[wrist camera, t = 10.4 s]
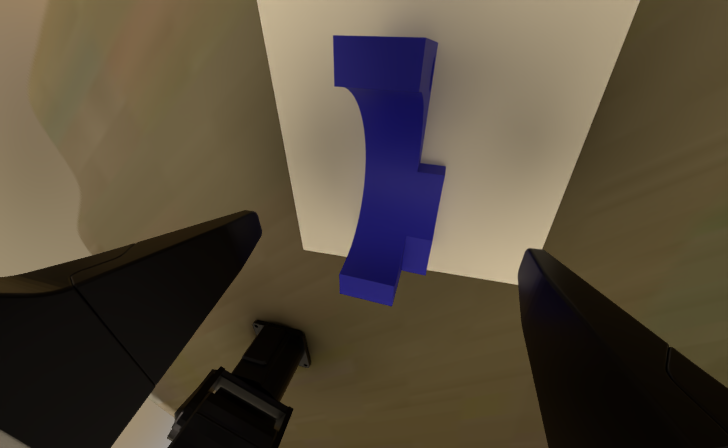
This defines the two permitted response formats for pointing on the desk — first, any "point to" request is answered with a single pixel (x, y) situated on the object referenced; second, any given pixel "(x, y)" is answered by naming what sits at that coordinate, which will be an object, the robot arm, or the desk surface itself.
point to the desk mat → (449, 115)
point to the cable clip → (390, 160)
